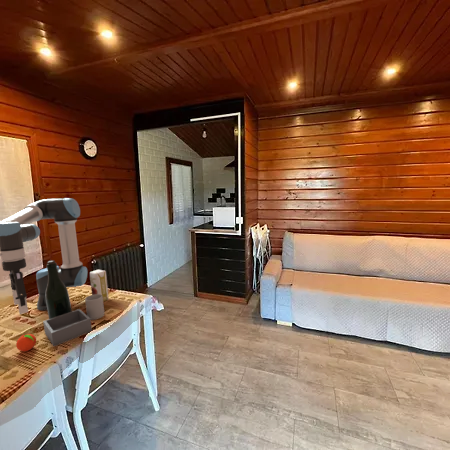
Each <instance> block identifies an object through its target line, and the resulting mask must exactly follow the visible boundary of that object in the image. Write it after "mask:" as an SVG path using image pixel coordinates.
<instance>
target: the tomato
mask: <svg viewBox="0 0 450 450" xmlns="http://www.w3.org/2000/svg"><path fill="white" fill-rule="evenodd" d="M36 343H37V337H36V336H35V335H34V334H32V333H26V334H23V335H21V336H20V337H18V339H17V341H16V344H15V347H16V349H17V350H18V351H20V352H28V351H30V350H32V349H33V348H34V347H35V345H36Z"/></svg>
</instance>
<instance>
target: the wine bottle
mask: <svg viewBox="0 0 450 450" xmlns="http://www.w3.org/2000/svg"><path fill="white" fill-rule="evenodd" d="M57 266H58V263H57V262H56V261H55V260H48V261H47V262H46V268H47V270H48V284H47V288H46V293H45V296H46V304H47V310H46V311H47V315H48V319H51V318H54V317H57V316H60V315H63V314H66V313H69V312H72V311H73V309H72V305H71V299H70V295H69V290H68V287H66V286H65V284H64V283H63V282H62V280H61V279H60V276H59V274H58V270H57Z"/></svg>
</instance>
